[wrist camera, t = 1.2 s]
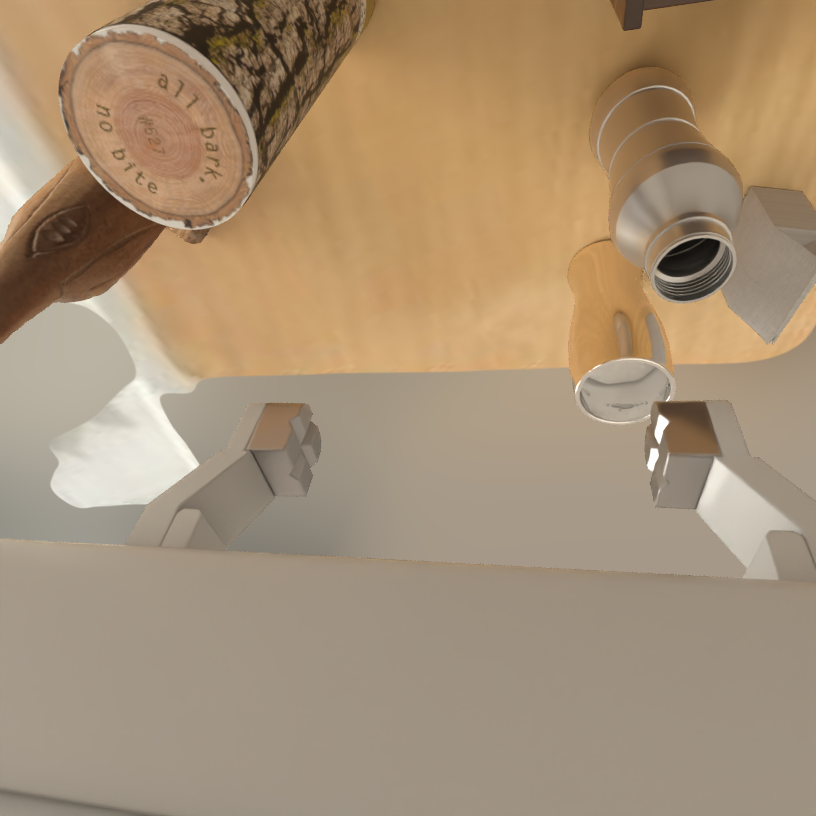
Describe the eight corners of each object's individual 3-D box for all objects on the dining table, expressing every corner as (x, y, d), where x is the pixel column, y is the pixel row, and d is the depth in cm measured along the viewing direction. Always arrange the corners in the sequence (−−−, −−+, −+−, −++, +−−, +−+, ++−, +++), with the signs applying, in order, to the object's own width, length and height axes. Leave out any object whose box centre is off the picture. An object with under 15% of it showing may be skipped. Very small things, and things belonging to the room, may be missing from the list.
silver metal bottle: (569, 142, 42) (591, 307, 28) (618, 41, 37) (672, 181, 23) (650, 170, 42) (708, 344, 29) (708, 73, 37) (812, 229, 24)
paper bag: (711, 264, 47) (742, 341, 40) (750, 186, 42) (794, 259, 35) (756, 269, 47) (795, 348, 40) (801, 191, 42) (855, 266, 35)
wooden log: (371, -91, 34) (218, 21, 17) (383, 41, 38) (275, 230, 22) (263, -82, 35) (16, 33, 18) (288, 46, 40) (114, 230, 23)
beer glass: (605, 316, 52) (624, 440, 42) (545, 279, 50) (550, 400, 40) (665, 262, 47) (703, 387, 37) (601, 219, 46) (623, 339, 35)
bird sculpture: (260, 134, 44) (10, 451, 23) (210, 238, 52) (-12, 548, 30) (119, 35, 41) (-341, 303, 19) (88, 163, 48) (-264, 457, 27)
